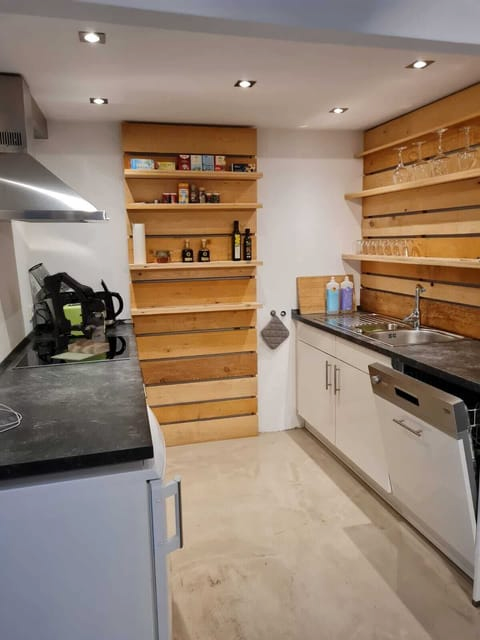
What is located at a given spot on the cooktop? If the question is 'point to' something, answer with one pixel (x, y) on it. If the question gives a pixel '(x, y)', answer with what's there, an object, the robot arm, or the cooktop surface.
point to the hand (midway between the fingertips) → (89, 341)
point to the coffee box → (98, 332)
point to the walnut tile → (84, 342)
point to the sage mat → (73, 356)
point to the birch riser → (89, 348)
